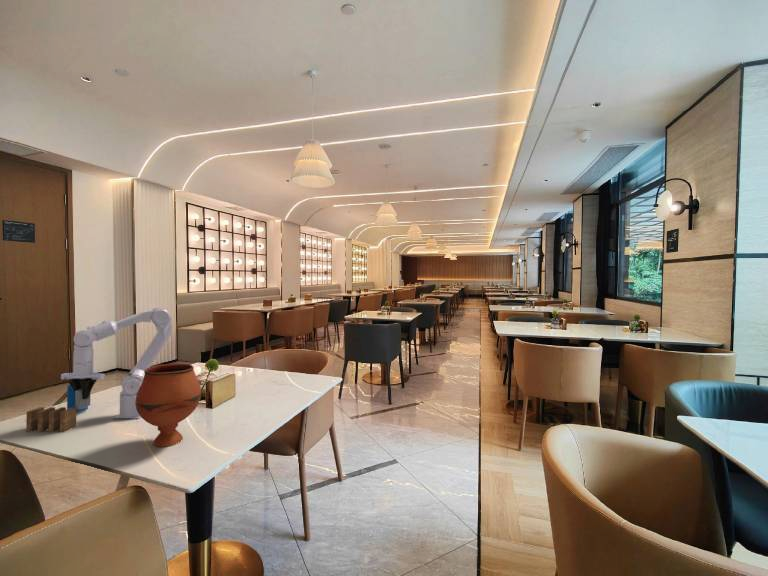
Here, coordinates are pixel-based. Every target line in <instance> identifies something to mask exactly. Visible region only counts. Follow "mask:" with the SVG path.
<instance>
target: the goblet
mask: <svg viewBox="0 0 768 576" xmlns="http://www.w3.org/2000/svg"><path fill="white" fill-rule="evenodd" d="M144 373H145V375H144V378H143V382H142V384H141V386H140V388H139V390H138V392H137V395H136V401H135V405H136V410H137V412H138V414H139V415H140V418H141V419H142V420H144V421H145V422H146V423H148V424H149V425H152V426H154V427H157V431H158V432H159V433H158V435H157V436H156V437H155V438H154V440H153V443H152V444H153V446H154V447H158V448H160V447H162V448H163V447H164V448H165V447H166V446H167V447H172V446H175V445H177V444H176V443H178V442H180V441H181V440H182V441H183V439H184V437H183V435H182V434H181V432H180V431H178V430H177V429H176V428H177V427H178V426H179V423H181V422H182V421H184V420H185V419H187V418H188V417H189V416H191V415H192V413H194V411H195V410H196V409H197V407H198V405H199V403H200V401H201V396H202V387H201V385H200V381H199V379H198V376H197V374H196V373H195V371H194V366H193V365H192V364H188V363H187V364H186V363H166V364H165V363H164V364H157V365H151V366H150V367H149V368H147V369H146V370H145V371H144ZM182 441H181V442H182ZM181 442H180V443H181ZM174 444H175V445H174ZM178 444H179V443H178ZM171 445H172V446H171Z"/></svg>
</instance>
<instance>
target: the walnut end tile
mask: <svg viewBox="0 0 768 576" xmlns="http://www.w3.org/2000/svg"><path fill="white" fill-rule="evenodd" d="M42 410H45V406H39V407H37V408H34V409H30V410H28V411H26V419H25V421H26V423H25V425H26V426H25V428H26V430H25V431H26V433H31V431H32V432H34V431H36V429H37V430H38V412H39V411H42Z"/></svg>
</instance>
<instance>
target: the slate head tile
mask: <svg viewBox="0 0 768 576" xmlns="http://www.w3.org/2000/svg"><path fill="white" fill-rule="evenodd" d="M87 406H88V407H89V406H91V394H90V395H89V398H87V399H83V397H82V388H81V389H79V390H76V391H75V407H77V408H76V410H80V409H82V408H85V407H87Z"/></svg>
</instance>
